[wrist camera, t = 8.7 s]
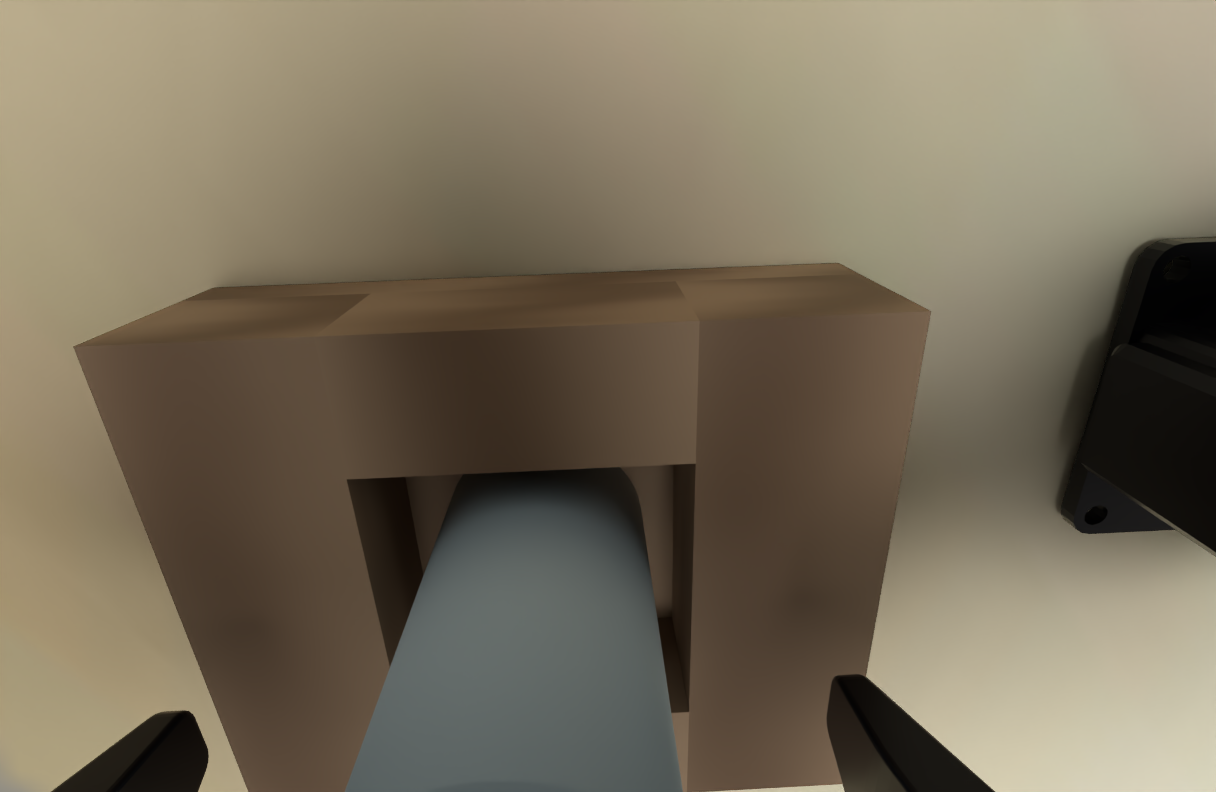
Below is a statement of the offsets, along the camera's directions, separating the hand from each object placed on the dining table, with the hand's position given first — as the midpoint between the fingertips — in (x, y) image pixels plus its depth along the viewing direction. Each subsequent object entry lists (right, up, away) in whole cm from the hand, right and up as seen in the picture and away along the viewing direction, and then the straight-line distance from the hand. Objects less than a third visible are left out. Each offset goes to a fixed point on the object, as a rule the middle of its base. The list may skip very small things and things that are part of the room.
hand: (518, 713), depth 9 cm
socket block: (0, +2, +5) cm, 6 cm away
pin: (0, +2, +4) cm, 5 cm away
